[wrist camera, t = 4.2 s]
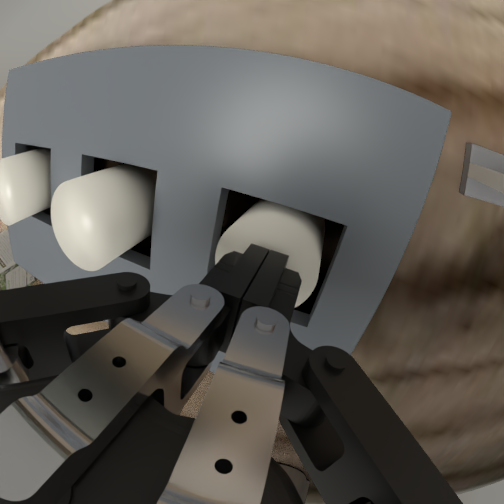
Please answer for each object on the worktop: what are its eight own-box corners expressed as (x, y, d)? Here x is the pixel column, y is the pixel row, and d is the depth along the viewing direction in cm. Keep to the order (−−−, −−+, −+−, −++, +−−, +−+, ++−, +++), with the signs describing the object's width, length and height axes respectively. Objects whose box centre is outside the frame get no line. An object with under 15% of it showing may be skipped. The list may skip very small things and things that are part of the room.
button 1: (335, 203, 15) (334, 237, 10) (312, 271, 16) (300, 324, 12) (258, 179, 15) (224, 202, 11) (243, 248, 17) (208, 292, 13)
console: (412, 116, 13) (451, 111, 7) (325, 342, 20) (315, 407, 15) (65, 69, 17) (9, 70, 11) (58, 236, 24) (13, 261, 19)
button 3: (76, 147, 15) (14, 163, 11) (75, 207, 17) (19, 233, 13) (43, 142, 16) (-11, 156, 12) (43, 195, 18) (-7, 216, 13)
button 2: (177, 168, 14) (111, 191, 10) (168, 241, 16) (112, 284, 12) (116, 155, 15) (49, 173, 10) (113, 221, 17) (54, 254, 12)
